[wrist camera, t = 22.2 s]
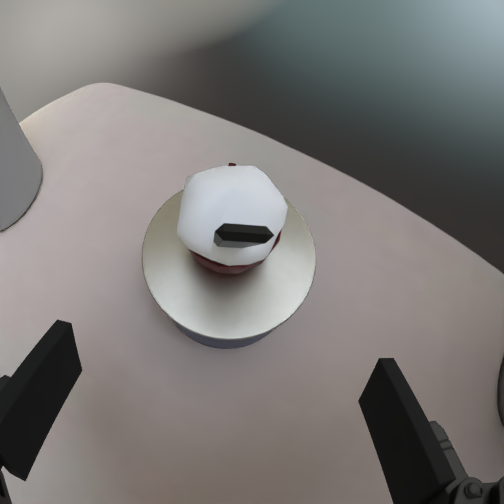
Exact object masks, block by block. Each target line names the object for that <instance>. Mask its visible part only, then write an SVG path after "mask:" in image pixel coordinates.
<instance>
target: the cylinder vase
mask: <svg viewBox="0 0 504 504" xmlns="http://www.w3.org/2000/svg"><path fill="white" fill-rule="evenodd" d="M41 177H42V168H41V164H40V161H39V159H38V157H37V156H36V154H35V152H34V151H33V149H32V147H31V145H30V144H29V142H28V140H27V138H26V137H25V135H24V133H23V131H22V129H21V127H20V126H19V124H18V122H17V120H16V118H15V116H14V114H13V113H12V110H11V109H10V106H9V104H8V102H7V101H6V98H5V96H4V94H3V92H2V90H1V88H0V231H1V230H4V229H6V228H7V227H9V226H10V225H12V224H13V223H14V222H16V221H17V220H18V219H19V218H20V217H21V216H22V215H23V214H24V213H25V211H26V210H27V209H28V207H29V206H30V205H31V203H32V201H33V200H34V198H35V196H36V194H37V191H38V189H39V186H40V182H41Z"/></svg>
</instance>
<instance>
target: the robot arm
mask: <svg viewBox="0 0 504 504" xmlns="http://www.w3.org/2000/svg"><path fill="white" fill-rule="evenodd" d="M81 372H82V367H81V363H80V359H79V355H78V351H77V347H76V343H75V338H74V333H73V329H72V324H71V323H69V322H65V321H61V320H56V322H55V323H54V324H53V325H52V326H51V328H50V329H49V330H48V331H47V332H46V334H45V335H44V336H43V337H42V338H41V340H40V341H39V342H38V343H37V344H36V346H35V347H34V348H33V349H32V351H31V352H30V353H29V354H28V356H27V357H26V358H25V360H24V361H23V362H22V363H21V365H20V366H19V367H18V369H17V370H16V371H15V373H14V374H13V375H12V377H9V376H6V375H4V376H3V377H1V378H0V504H12V502H11V499H10V496H9V493H8V490H7V486H6V483H5V479H4V476H3V473H2V471H1V468H2V466H4V467H5V468H6V469H7V470H8V472H9V473H11V474H13V475H14V476H16V477H18V478H20V479H22V480H24V481H26V479H27V477H28V474H29V472H30V470H31V468H32V466H33V463H34V461H35V459H36V457H37V455H38V453H39V451H40V449H41V447H42V445H43V443H44V441H45V439H46V437H47V435H48V433H49V431H50V429H51V427H52V425H53V423H54V421H55V419H56V417H57V415H58V413H59V411H60V410H61V408H62V406H63V404H64V402H65V400H66V398H67V397H68V395H69V393H70V391H71V389H72V388H73V386H74V384H75V382H76V381H77V379H78V377H79V375H80V374H81ZM358 402H359V404H360V407H361V410H362V412H363V415H364V418H365V421H366V423H367V426H368V429H369V432H370V435H371V438H372V440H373V443H374V446H375V449H376V452H377V455H378V458H379V461H380V464H381V467H382V470H383V473H384V476H385V479H386V482H387V485H388V488H389V491H390V494H391V497H392V501H393V504H504V476H503V477H502V478H501V479H500V480H499V481H498V482H494V483H482V482H481V481H480V480H479V479H477V478H474V477H468V475H467V474H466V472H465V470H464V468H463V466H462V464H461V462H460V460H459V458H458V456H457V454H456V452H455V450H454V448H452V444H451V442H450V440H448V439H449V438H448V436H447V434H446V432H445V431H444V429H443V428H442V427H441V426H440V425H439V424H438V423H437V422H436V421H432V422H429V421H428V420H427V418H426V416H425V414H424V412H423V410H422V408H421V406H420V404H419V403H418V401H417V399H416V397H415V395H414V393H413V392H412V390H411V388H410V386H409V384H408V383H407V381H406V379H405V377H404V375H403V374H402V372H401V370H400V368H399V367H398V365H397V363H396V361H395V360H394V358H379V359H378V362H377V364H376V366H375V368H374V370H373V372H372V374H371V377H370V379H369V381H368V383H367V385H366V387H365V389H364V391H363V393H362V395H361V397H360V399H359V400H358ZM498 402H499V412H500V416H501V420H502V423H503V425H504V360H503V364H502V368H501V373H500V379H499V390H498Z"/></svg>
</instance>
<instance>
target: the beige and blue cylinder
mask: <svg viewBox="0 0 504 504" xmlns="http://www.w3.org/2000/svg"><path fill="white" fill-rule="evenodd" d="M183 191H184V189H183V190H181V191H180V192H178V193H177V194H175V195H174V196H173V197H171V198H170V199H169V200H168V201H167V202H166V203H165V204H164V205H163V206H162V207H161V208H160V209H159V210H158V212H157V213H156V214H155V216H154V217H153V219H152V221H151V223H150V225H149V227H148V229H147V232H146V235H145V238H144V242H143V248H142V267H143V272H144V277H145V280H146V283H147V286H148V288H149V291H150V292H151V294H152V296H153V298H154V299H155V301H156V302H157V304H158V305H159V306H160V308H161V309H162V310H163V311H164V312H165V313H166V314H167V315H168V316H169V317H170V318H171V319H172V321H173V322H174V323H175V324H176V326H177V327H178V328H179V329H180V330H181V331H182V332H183V333H184V334H186V335H187V336H188V337H190V338H191V339H193V340H195V341H197V342H199V343H201V344H204V345H206V346H210V347H214V348H222V349H231V348H239V347H244V346H247V345H250V344H252V343H254V342H256V341H258V340H260V339H262V338H263V337H265V336H266V335H267V334H268V333H269V332H271V331H272V330H273V329H275V328H276V327H278V326H279V325H281V324H282V323H284V322H285V321H286V320H287V319H288V318H289V317H291V316H292V315H293V314H294V313H295V312H296V311H297V309H298V308H299V307H300V306H301V304H302V303H303V301H304V300H305V298H306V296H307V295H308V293H309V290H310V288H311V286H312V283H313V279H314V275H315V268H316V252H315V246H314V241H313V238H312V235H311V232H310V230H309V228H308V226H307V224H306V222H305V220H304V219H303V217H302V216H301V214H300V213H299V212H298V211H297V209H296V208H295V207H294V206H293V205H292V204H291V203H290V202H289V201H288V200H287V199H285V198H284V197H283V196H282V197H283V198H284V200H285V202H286V204H287V206H288V209H287V214H286V218H285V223H284V225H283V227H282V231H281V236H280V241H279V242H278V244H277V245H276V247H275V248H274V249H273V250H272V252H271V253H270V254H269V255H268V257H267V258H266V259H265V260H264V261H263V263H261V264H260V265H258V266H256V267H253V268H251V269H249V270H246V271H244V272H242V273H239V274H230V273H217V272H215V271H213V270H211V269H209V268H207V267H205V266H203V265H201V264H200V263H199V262H198V261H197V260H196V259H195V257H194V256H193V255H192V254H191V252H190V251H189V250H188V248H187V247H186V246H185V245H184V243H183V242H182V241H181V240H180V239H179V237H178V236H177V226H178V220H179V213H180V205H181V199H182V195H183Z"/></svg>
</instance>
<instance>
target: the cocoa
mask: <svg viewBox="0 0 504 504" xmlns="http://www.w3.org/2000/svg"><path fill="white" fill-rule="evenodd" d="M287 209H288V206H287V204H286V202H285V200H284V198H283V197H282V195H281V193H280V192H279V191H278V190H277V188H276V187H275V186H274V184H273V183H272V182H271V180H270V179H269V178H268V177H267V175H266V174H265V173H263V172H262V171H260V170H259V169H257V168H256V167H255V166H253V165H251V166H236V164H234V163H229V165H228V166H219V167H216V168H212V169H209V170H206V171H203V172H200V173H197V174H194V175H192V176H189V177H187V179H186V183H185V187H184V191H183V195H182V199H181V205H180V213H179V220H178V226H177V236H178V237H179V239H180V240H181V241H182V242H183V243H184V245H185V246H186V247H187V248H188V250H189V251H190V252H191V254H192V255H193V256H194V257H195V259H196V260H197V261H198V262H199V263H200V264H201V265H203V266H205V267H207V268H209V269H211V270H213V271H215V272H217V273H230V274H239V273H242V272H244V271H246V270H249V269H251V268H253V267H256V266H258V265H260V264H261V263H263V261H264V260H265V259H266V258H267V257H268V255H269V254H270V253H271V252H272V250H273V249H274V248H275V247H276V245H277V244H278V242H279V241H280V236H281V231H282V227H283V225H284V223H285V218H286V214H287Z"/></svg>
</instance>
